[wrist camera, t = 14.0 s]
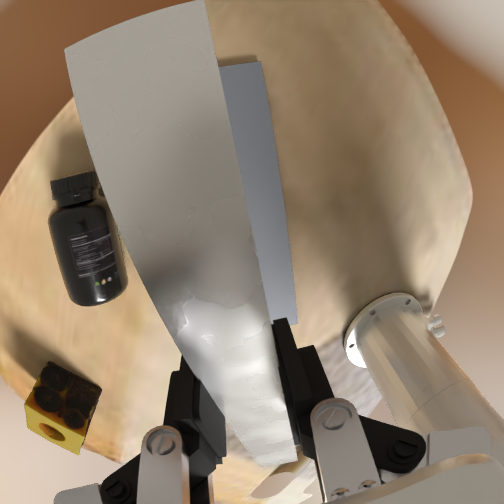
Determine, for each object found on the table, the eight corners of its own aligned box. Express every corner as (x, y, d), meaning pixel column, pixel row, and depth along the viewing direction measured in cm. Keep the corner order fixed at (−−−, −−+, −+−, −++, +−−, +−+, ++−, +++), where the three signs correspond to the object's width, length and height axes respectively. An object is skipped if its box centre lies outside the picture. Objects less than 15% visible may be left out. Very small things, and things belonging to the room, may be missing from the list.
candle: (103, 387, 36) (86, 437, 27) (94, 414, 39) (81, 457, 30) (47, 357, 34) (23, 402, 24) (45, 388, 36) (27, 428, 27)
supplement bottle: (64, 291, 26) (38, 182, 21) (115, 271, 31) (96, 168, 26) (79, 317, 22) (44, 182, 17) (140, 290, 26) (118, 164, 22)
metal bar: (208, 38, 6) (204, -2, 3) (287, 413, 18) (297, 460, 15) (127, 61, 6) (64, 48, 3) (253, 419, 18) (261, 467, 15)
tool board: (259, 64, 22) (260, 61, 21) (295, 317, 33) (298, 323, 32) (164, 82, 22) (161, 79, 21) (221, 331, 33) (221, 338, 32)
